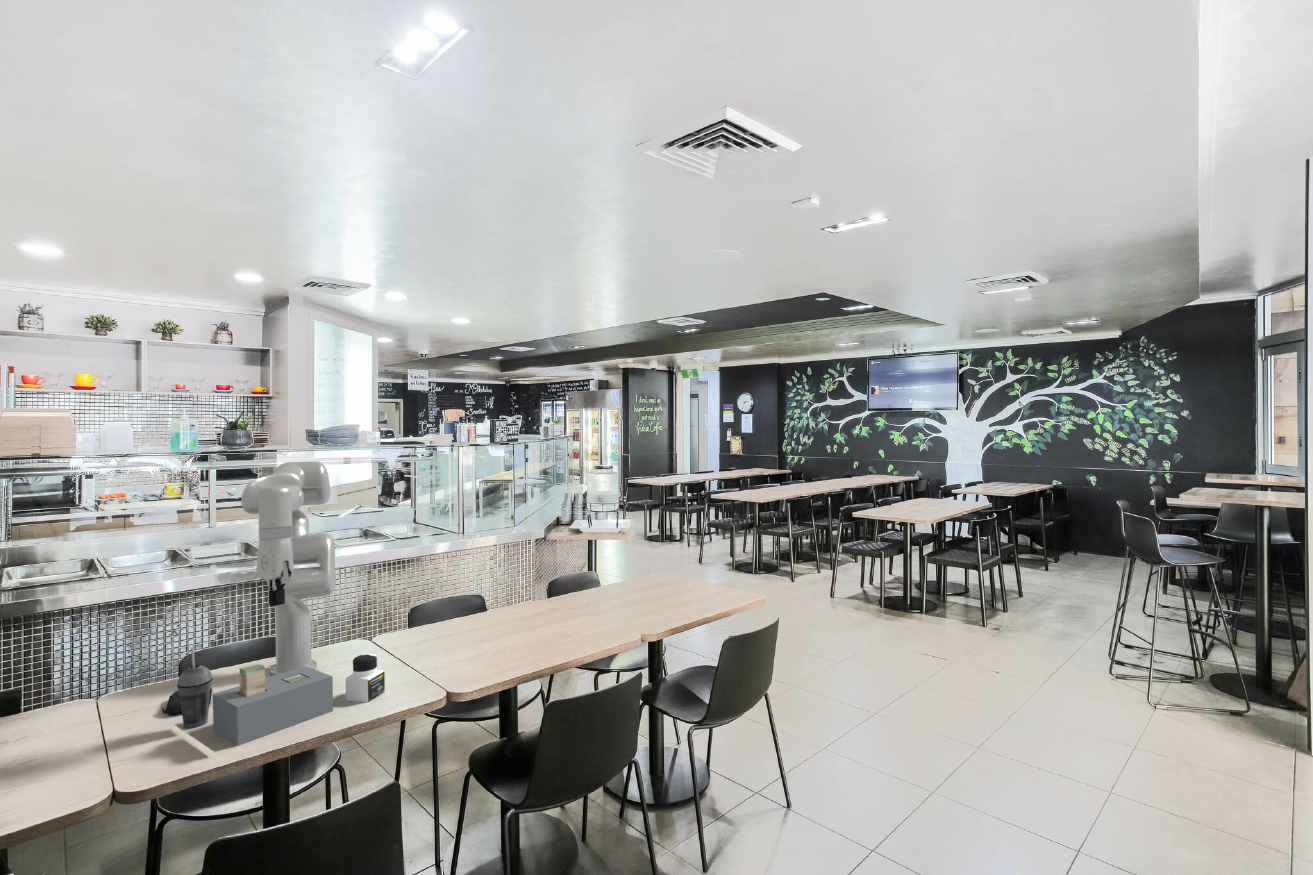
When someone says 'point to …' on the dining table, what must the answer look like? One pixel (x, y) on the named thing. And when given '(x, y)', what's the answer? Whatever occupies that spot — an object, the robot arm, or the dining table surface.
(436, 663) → the dining table surface
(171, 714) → the carrying case or bag
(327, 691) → the socket block
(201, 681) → the beverage cup
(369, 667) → the medicine bottle
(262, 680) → the proud peg
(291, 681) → the flush peg
